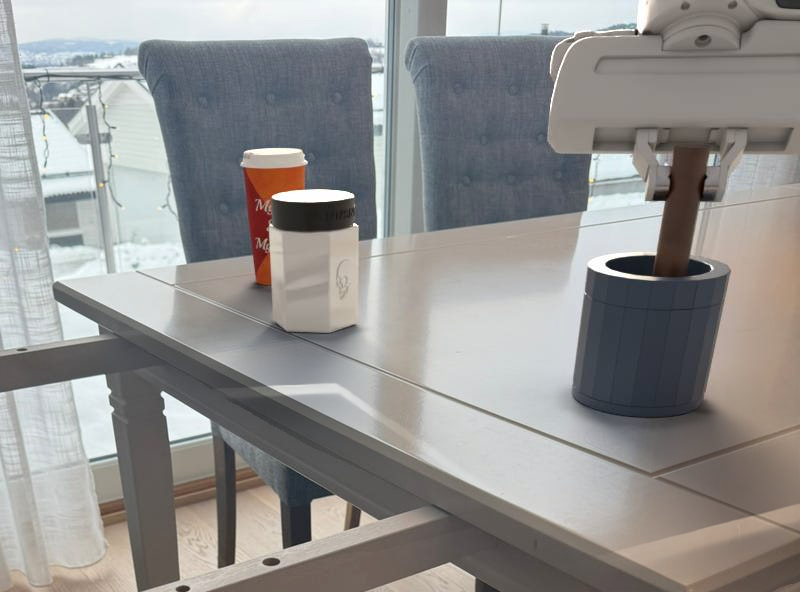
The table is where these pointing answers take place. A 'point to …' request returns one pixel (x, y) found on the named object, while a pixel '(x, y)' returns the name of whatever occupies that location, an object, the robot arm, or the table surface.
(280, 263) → the jar
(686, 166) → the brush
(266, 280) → the paper cup
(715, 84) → the robot arm
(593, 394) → the stoneware jar
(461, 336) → the table surface
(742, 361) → the table surface
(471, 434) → the table surface
